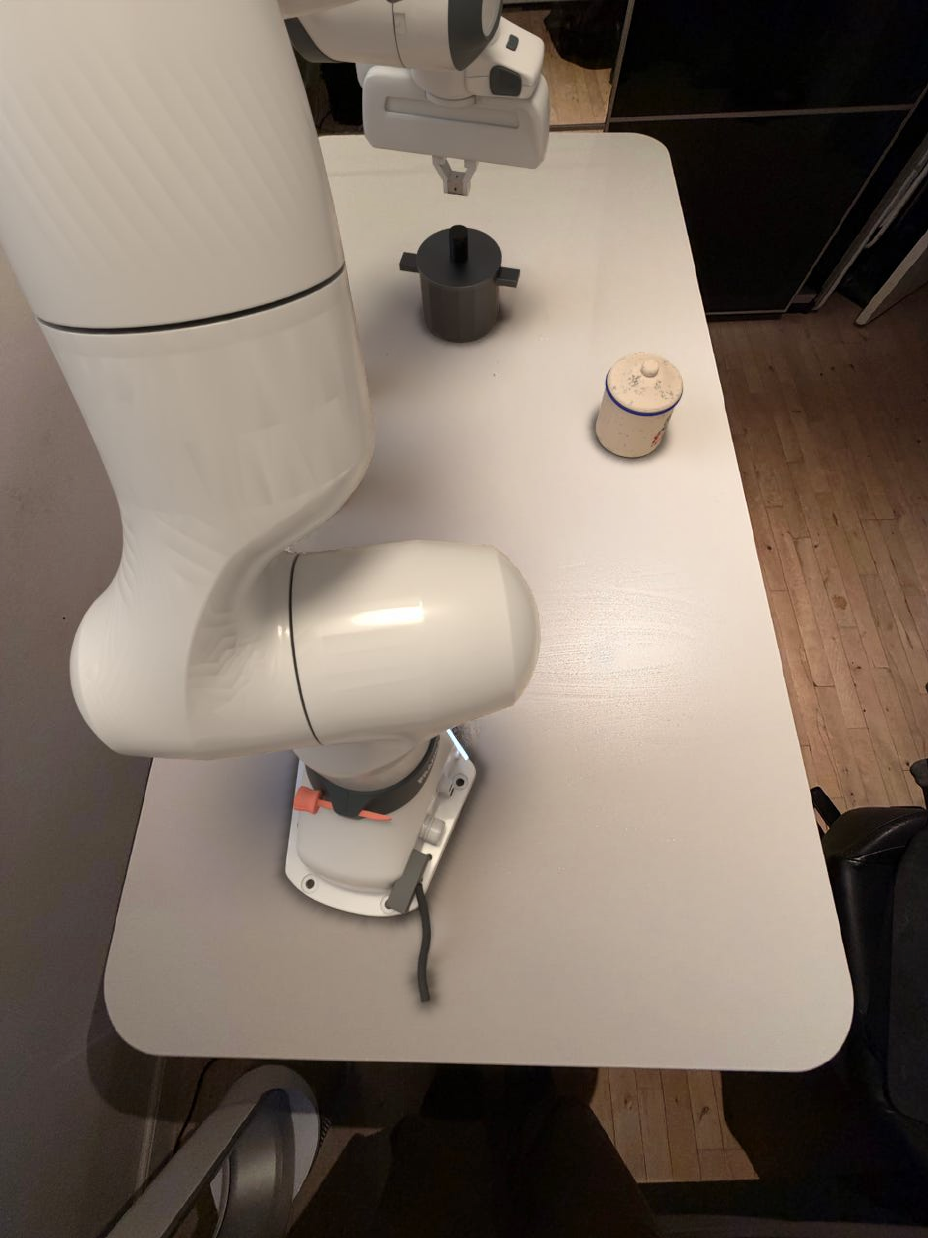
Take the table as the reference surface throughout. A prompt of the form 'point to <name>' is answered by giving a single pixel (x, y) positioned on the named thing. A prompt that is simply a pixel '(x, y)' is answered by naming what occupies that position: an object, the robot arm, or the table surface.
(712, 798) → the table surface
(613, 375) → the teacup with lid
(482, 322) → the pot
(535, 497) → the table surface
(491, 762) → the table surface
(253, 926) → the table surface
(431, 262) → the lid
